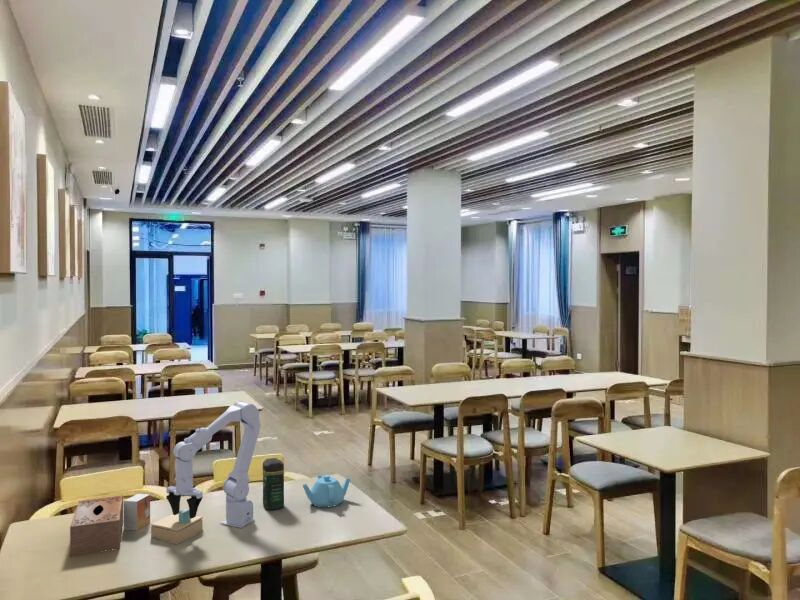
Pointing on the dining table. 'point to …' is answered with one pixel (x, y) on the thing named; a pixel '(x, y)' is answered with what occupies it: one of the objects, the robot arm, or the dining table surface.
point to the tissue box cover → (96, 526)
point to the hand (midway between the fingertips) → (184, 515)
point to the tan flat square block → (177, 521)
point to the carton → (176, 532)
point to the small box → (136, 512)
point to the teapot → (326, 491)
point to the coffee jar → (273, 483)
